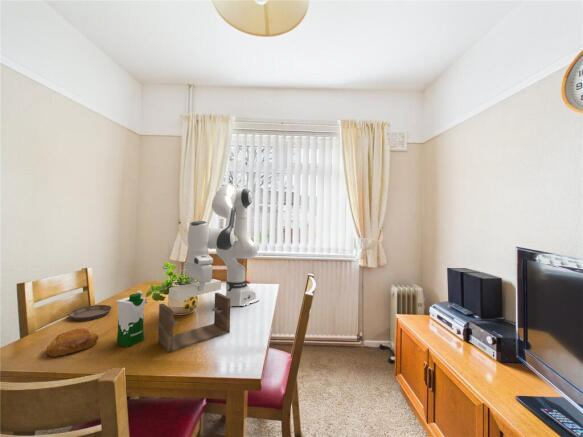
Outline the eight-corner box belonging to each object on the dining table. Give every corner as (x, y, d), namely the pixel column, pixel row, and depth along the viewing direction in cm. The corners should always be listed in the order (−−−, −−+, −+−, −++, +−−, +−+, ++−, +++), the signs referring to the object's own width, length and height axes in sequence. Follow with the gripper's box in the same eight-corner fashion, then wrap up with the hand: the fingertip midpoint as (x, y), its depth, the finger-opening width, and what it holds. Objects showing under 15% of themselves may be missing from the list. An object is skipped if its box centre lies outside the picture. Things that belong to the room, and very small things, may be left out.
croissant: (98, 353, 101) (102, 333, 102) (44, 362, 91) (49, 339, 91) (93, 339, 112) (97, 321, 113) (45, 346, 101) (49, 325, 102)
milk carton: (127, 348, 101) (128, 298, 101) (112, 344, 104) (113, 295, 105) (147, 339, 109) (148, 292, 109) (132, 335, 113) (133, 290, 113)
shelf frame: (216, 324, 126) (217, 292, 126) (229, 332, 118) (230, 298, 118) (158, 342, 107) (159, 304, 107) (168, 353, 99) (169, 311, 99)
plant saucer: (119, 312, 140) (119, 307, 140) (84, 325, 123) (84, 318, 123) (96, 308, 145) (96, 303, 145) (60, 319, 128) (60, 313, 128)
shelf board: (212, 287, 123) (213, 278, 123) (220, 289, 120) (221, 280, 120) (168, 297, 105) (169, 288, 105) (177, 300, 102) (177, 290, 102)
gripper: (181, 255, 118) (180, 285, 118) (201, 261, 103) (200, 295, 103) (194, 254, 122) (193, 283, 122) (215, 259, 108) (214, 292, 108)
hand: (196, 288), depth 113 cm, fingers closed on shelf board, 6 cm apart
